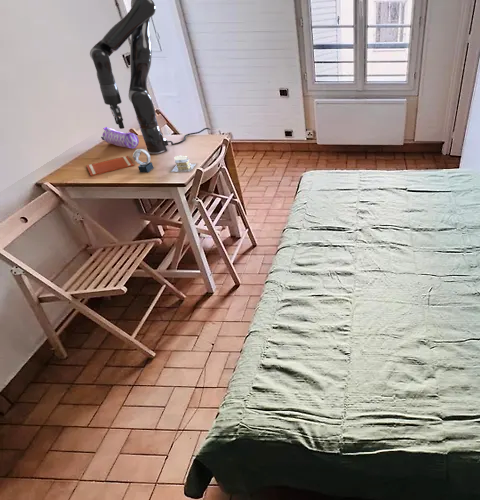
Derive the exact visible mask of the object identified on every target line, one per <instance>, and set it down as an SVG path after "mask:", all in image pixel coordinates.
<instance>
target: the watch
mask: <svg viewBox="0 0 480 500" xmlns="http://www.w3.org/2000/svg"><path fill="white" fill-rule="evenodd" d="M142 153H143V154H144V155H145V156H146V161H141V160H140V156H141V154H142ZM151 157H152V156H151V154H149V153H148V151H147V149H144V148H137V149H135V150H134V152H133V154H132V158H133V160H134V161H135V162H136V163H137V164H138V166H137V169H138V171H139V173H144V174H146V173H147V174H148V173H150V172H151V171H152V170H153V169H154V165H153V162H152V161H151Z"/></svg>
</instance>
